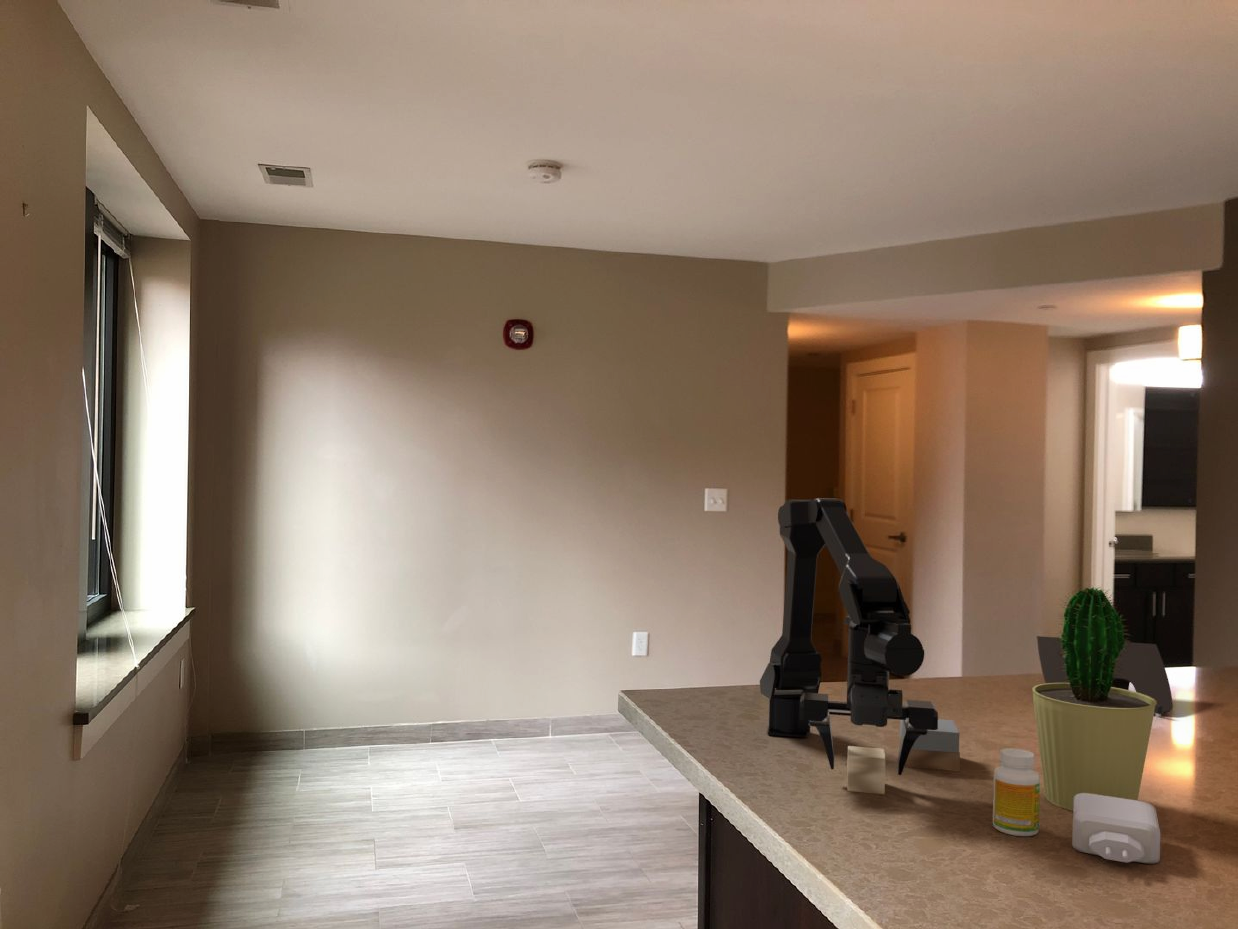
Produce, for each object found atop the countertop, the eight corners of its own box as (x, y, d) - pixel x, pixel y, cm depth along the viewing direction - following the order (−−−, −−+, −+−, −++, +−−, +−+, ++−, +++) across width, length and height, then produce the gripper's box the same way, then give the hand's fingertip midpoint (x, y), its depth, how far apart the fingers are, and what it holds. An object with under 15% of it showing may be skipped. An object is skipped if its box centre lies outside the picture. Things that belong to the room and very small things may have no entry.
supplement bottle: (1042, 839, 123) (1044, 760, 123) (996, 835, 124) (998, 756, 124) (1033, 824, 129) (1035, 748, 129) (989, 820, 130) (991, 745, 130)
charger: (1071, 870, 115) (1072, 828, 128) (1163, 886, 111) (1154, 841, 124) (1072, 828, 115) (1074, 791, 128) (1164, 843, 111) (1155, 803, 124)
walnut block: (903, 768, 152) (904, 748, 152) (900, 754, 160) (901, 735, 160) (959, 773, 151) (959, 753, 151) (953, 758, 158) (953, 739, 158)
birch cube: (847, 791, 140) (848, 755, 140) (847, 780, 145) (847, 746, 145) (884, 794, 139) (885, 758, 139) (882, 783, 144) (883, 748, 144)
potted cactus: (1148, 831, 127) (1155, 594, 127) (1019, 806, 135) (1025, 583, 135) (1158, 798, 140) (1163, 583, 140) (1039, 777, 148) (1045, 574, 148)
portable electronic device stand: (1044, 735, 196) (1048, 697, 192) (1033, 663, 215) (1036, 627, 212) (1176, 747, 189) (1183, 709, 185) (1152, 672, 209) (1158, 635, 205)
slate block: (903, 748, 152) (904, 728, 152) (900, 735, 160) (900, 716, 160) (958, 753, 151) (959, 733, 151) (952, 739, 159) (952, 720, 159)
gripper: (799, 668, 136) (796, 783, 136) (943, 677, 132) (940, 796, 132) (802, 653, 147) (799, 759, 147) (935, 661, 143) (932, 771, 143)
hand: (865, 771), depth 142 cm, fingers open, 9 cm apart
